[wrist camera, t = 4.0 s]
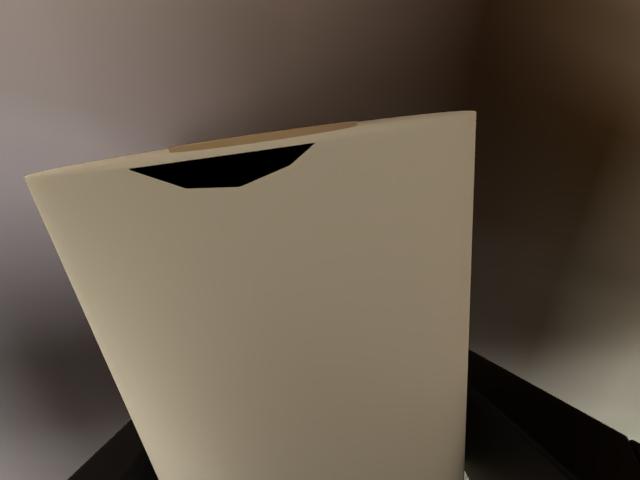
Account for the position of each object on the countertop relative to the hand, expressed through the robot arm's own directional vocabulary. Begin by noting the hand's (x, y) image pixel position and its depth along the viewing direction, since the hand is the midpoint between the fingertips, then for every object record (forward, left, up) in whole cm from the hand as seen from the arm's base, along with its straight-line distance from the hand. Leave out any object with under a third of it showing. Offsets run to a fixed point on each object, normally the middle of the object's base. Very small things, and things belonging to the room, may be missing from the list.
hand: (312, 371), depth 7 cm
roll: (0, 0, -1) cm, 1 cm away
